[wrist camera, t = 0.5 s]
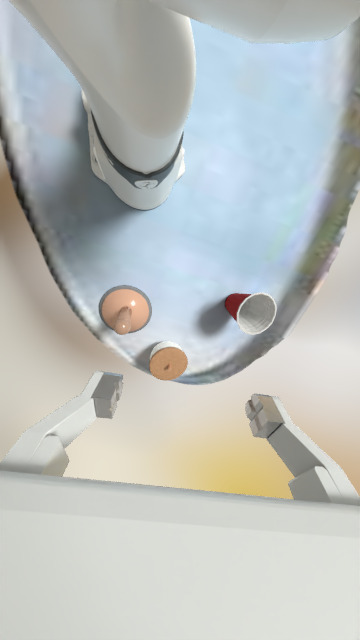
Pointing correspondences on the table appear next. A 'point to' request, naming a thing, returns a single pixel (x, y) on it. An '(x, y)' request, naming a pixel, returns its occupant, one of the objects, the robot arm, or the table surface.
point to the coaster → (125, 288)
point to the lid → (125, 310)
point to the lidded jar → (167, 361)
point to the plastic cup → (252, 311)
